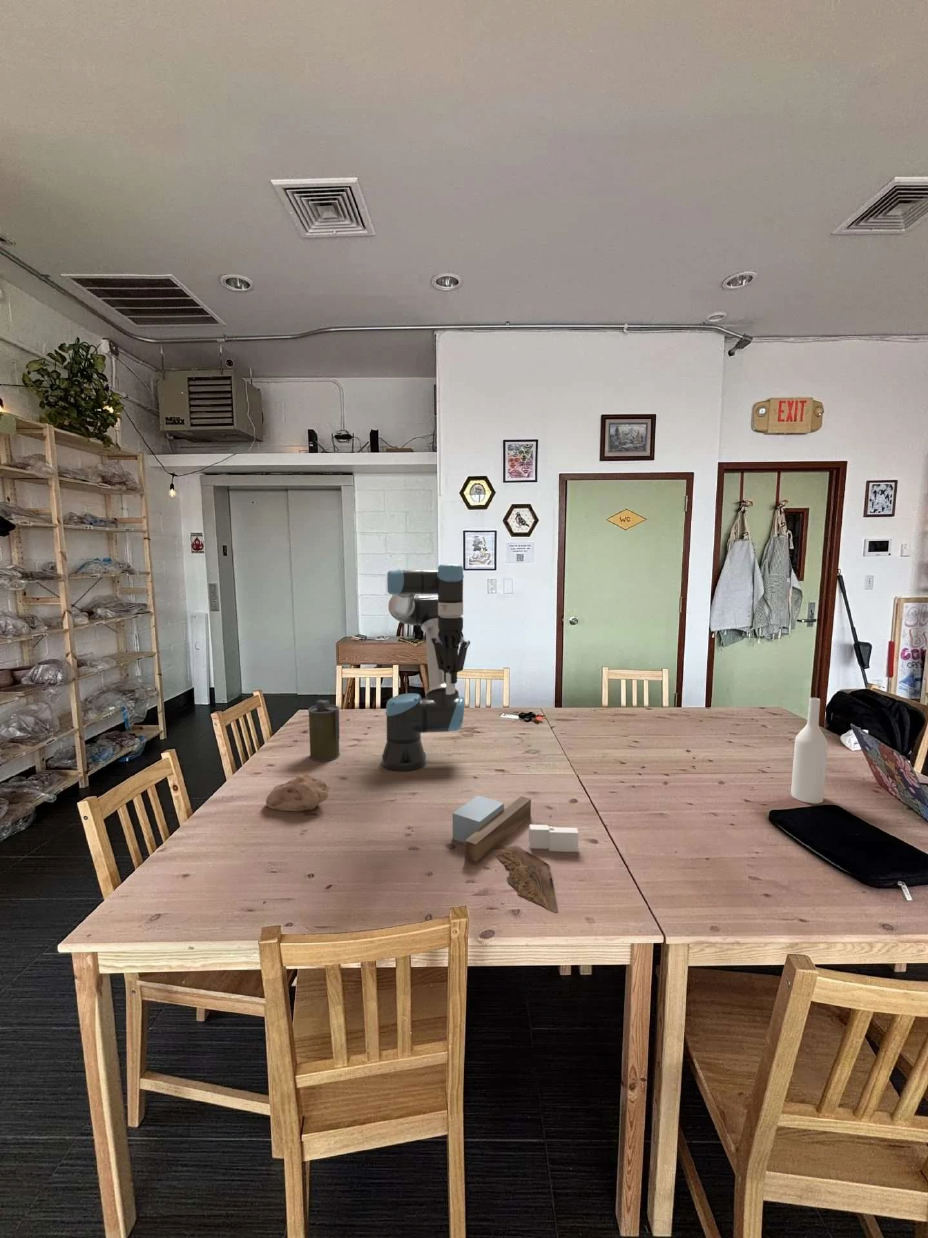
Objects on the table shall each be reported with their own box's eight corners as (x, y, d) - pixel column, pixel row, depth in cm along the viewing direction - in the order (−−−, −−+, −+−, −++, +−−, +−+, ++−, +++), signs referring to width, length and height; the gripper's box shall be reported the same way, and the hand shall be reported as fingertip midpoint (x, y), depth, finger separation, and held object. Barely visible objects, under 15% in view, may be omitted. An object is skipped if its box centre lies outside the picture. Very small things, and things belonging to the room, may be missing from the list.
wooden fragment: (491, 849, 132) (491, 845, 132) (534, 844, 134) (534, 840, 134) (524, 919, 107) (524, 914, 107) (576, 911, 109) (576, 907, 109)
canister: (303, 759, 189) (301, 703, 187) (321, 749, 199) (320, 696, 196) (329, 763, 185) (327, 706, 183) (346, 753, 195) (345, 699, 192)
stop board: (464, 860, 127) (464, 840, 126) (520, 813, 150) (521, 796, 149) (475, 864, 125) (475, 844, 125) (530, 816, 148) (530, 799, 148)
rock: (334, 799, 158) (333, 766, 157) (326, 815, 149) (324, 780, 147) (271, 799, 158) (269, 767, 157) (259, 816, 148) (257, 781, 147)
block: (452, 839, 137) (452, 813, 136) (477, 820, 147) (478, 795, 146) (479, 849, 132) (479, 821, 131) (503, 828, 142) (503, 803, 141)
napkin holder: (589, 849, 133) (590, 827, 132) (566, 869, 124) (567, 846, 123) (538, 829, 142) (538, 808, 142) (513, 846, 134) (513, 824, 133)
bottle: (795, 789, 166) (802, 693, 162) (826, 797, 160) (834, 698, 156) (787, 797, 160) (795, 698, 156) (819, 806, 154) (827, 704, 151)
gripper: (425, 616, 162) (425, 692, 165) (461, 619, 154) (461, 699, 157) (440, 613, 168) (440, 687, 171) (475, 616, 161) (475, 694, 164)
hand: (450, 693), depth 164 cm, fingers closed
